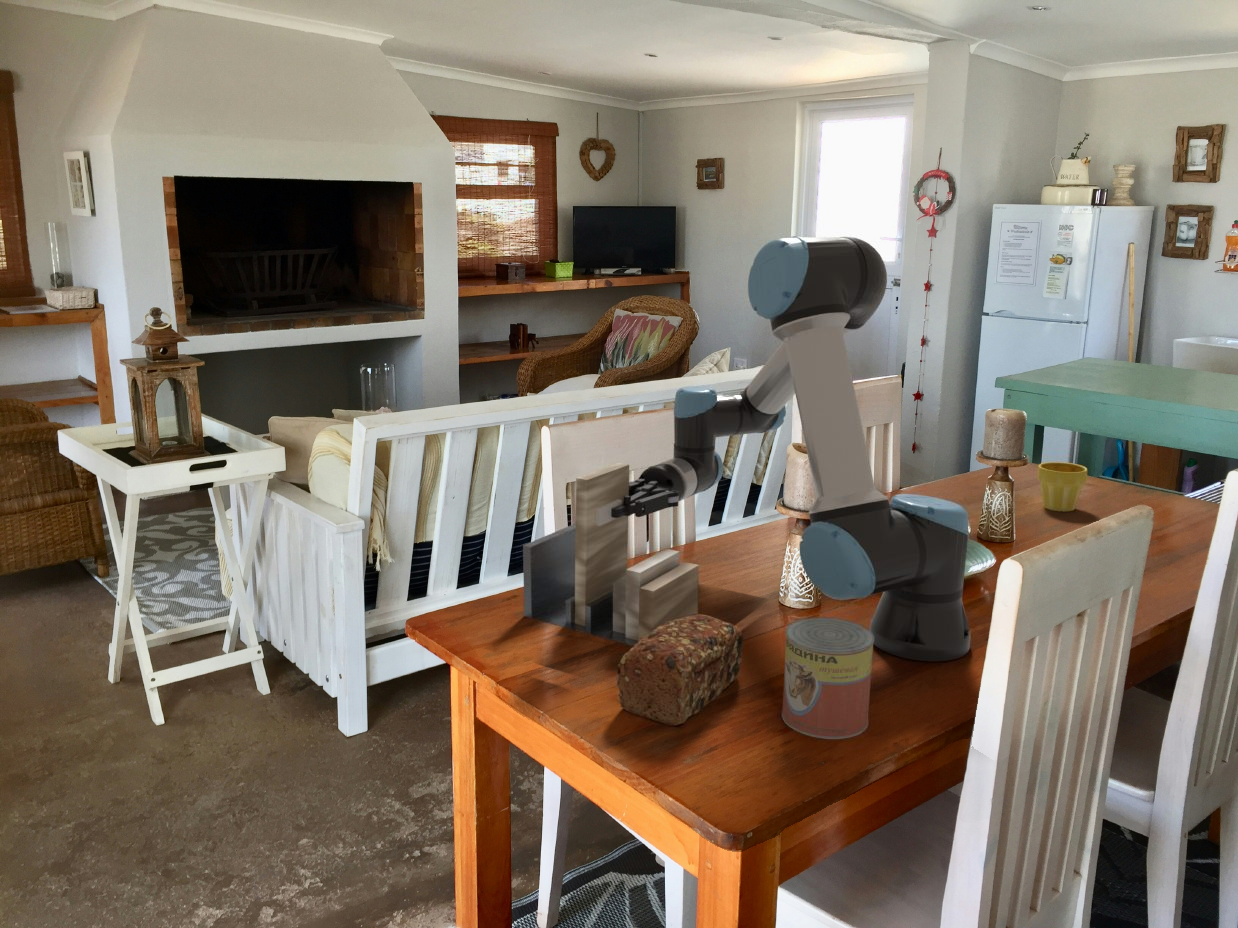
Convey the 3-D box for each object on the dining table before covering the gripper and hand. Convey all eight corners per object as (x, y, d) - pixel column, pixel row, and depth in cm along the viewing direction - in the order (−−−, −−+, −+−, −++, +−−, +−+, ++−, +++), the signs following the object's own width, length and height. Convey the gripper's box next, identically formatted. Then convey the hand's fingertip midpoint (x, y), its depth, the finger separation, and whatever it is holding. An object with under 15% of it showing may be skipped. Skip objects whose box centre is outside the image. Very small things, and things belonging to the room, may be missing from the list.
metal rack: (707, 625, 163) (709, 546, 160) (656, 660, 150) (657, 575, 147) (581, 594, 177) (580, 521, 173) (524, 624, 164) (522, 545, 160)
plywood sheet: (626, 602, 169) (629, 464, 163) (584, 626, 159) (586, 480, 153) (616, 600, 170) (618, 462, 164) (574, 623, 160) (576, 477, 154)
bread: (681, 732, 130) (682, 660, 127) (612, 710, 135) (612, 641, 133) (745, 678, 145) (747, 614, 143) (680, 661, 151) (682, 598, 148)
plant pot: (1026, 507, 232) (1030, 466, 230) (1046, 499, 239) (1050, 459, 236) (1071, 517, 224) (1075, 474, 222) (1090, 508, 231) (1095, 467, 229)
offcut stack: (697, 617, 163) (699, 553, 160) (652, 647, 151) (653, 578, 149) (652, 606, 167) (653, 543, 165) (605, 634, 156) (605, 567, 153)
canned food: (764, 712, 135) (767, 629, 132) (823, 690, 141) (827, 610, 138) (826, 748, 126) (831, 659, 123) (886, 723, 132) (892, 638, 129)
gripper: (704, 511, 173) (630, 547, 154) (630, 497, 181) (551, 530, 162) (705, 469, 172) (631, 500, 152) (630, 457, 180) (551, 485, 160)
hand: (590, 515), depth 157 cm, fingers closed on plywood sheet, 2 cm apart
